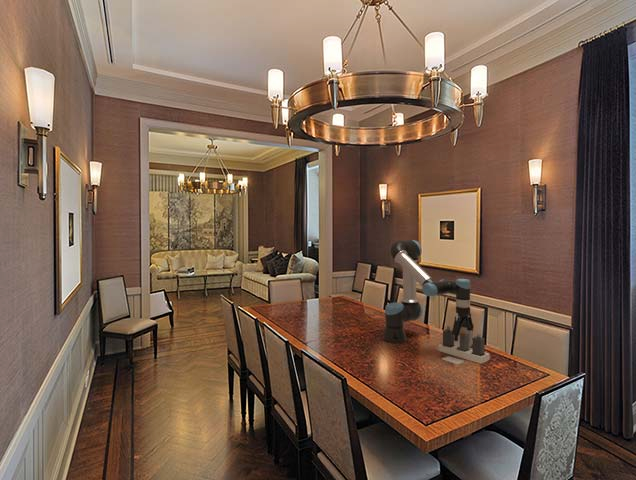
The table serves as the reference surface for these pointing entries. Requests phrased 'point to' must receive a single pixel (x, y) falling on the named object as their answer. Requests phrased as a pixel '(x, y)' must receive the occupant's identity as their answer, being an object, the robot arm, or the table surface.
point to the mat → (453, 360)
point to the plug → (463, 341)
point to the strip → (474, 354)
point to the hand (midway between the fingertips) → (462, 343)
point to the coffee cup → (465, 333)
